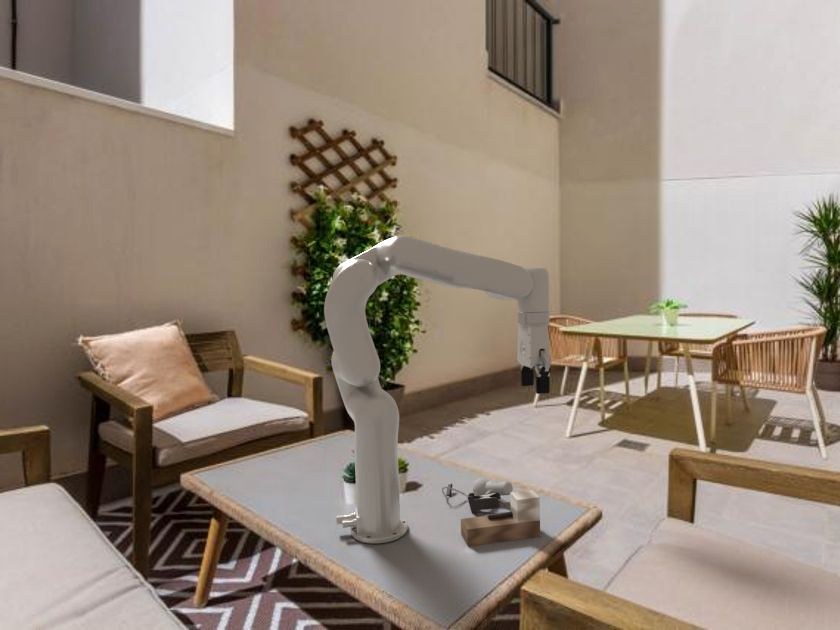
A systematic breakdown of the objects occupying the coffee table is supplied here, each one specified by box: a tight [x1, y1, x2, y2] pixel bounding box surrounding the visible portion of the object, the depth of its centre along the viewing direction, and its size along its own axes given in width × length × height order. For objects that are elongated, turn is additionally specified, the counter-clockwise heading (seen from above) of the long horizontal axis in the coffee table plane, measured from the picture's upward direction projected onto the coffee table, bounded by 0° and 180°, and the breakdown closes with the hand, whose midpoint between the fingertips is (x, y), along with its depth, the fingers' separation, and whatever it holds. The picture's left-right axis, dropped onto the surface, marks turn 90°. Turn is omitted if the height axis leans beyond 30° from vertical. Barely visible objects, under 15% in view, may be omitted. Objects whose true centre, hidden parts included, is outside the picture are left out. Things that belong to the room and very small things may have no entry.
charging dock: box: [460, 489, 541, 547], centre depth 111 cm, size 16×6×8 cm, turn 101°
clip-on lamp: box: [441, 477, 514, 515], centre depth 127 cm, size 12×6×18 cm
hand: (534, 389), depth 126 cm, fingers open, 9 cm apart
